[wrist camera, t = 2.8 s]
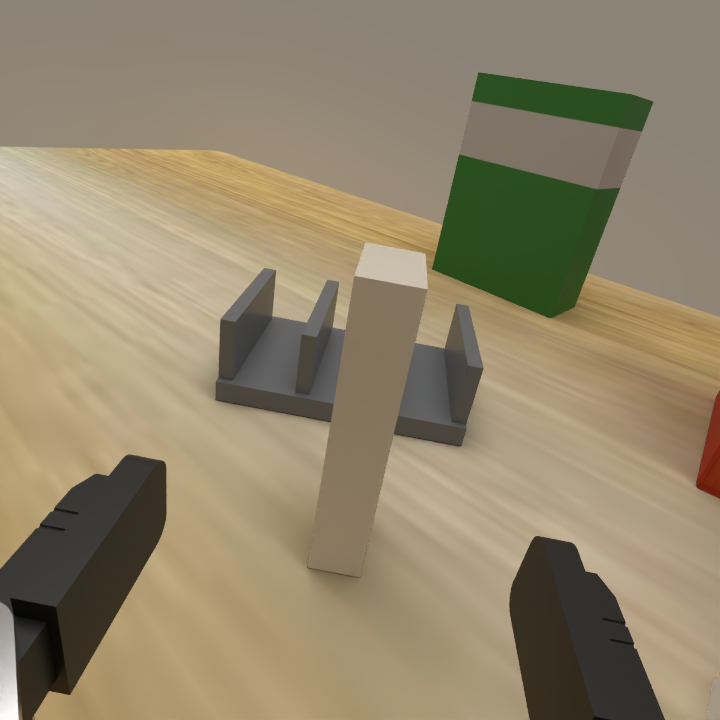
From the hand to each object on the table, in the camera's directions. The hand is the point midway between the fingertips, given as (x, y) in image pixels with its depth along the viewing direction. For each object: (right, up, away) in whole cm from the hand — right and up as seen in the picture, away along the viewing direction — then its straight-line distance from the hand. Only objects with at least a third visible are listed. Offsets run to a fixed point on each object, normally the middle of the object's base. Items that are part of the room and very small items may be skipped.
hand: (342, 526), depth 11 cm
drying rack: (-1, +2, +30) cm, 30 cm away
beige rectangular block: (-1, -6, +16) cm, 17 cm away
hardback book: (+19, +13, +58) cm, 62 cm away
